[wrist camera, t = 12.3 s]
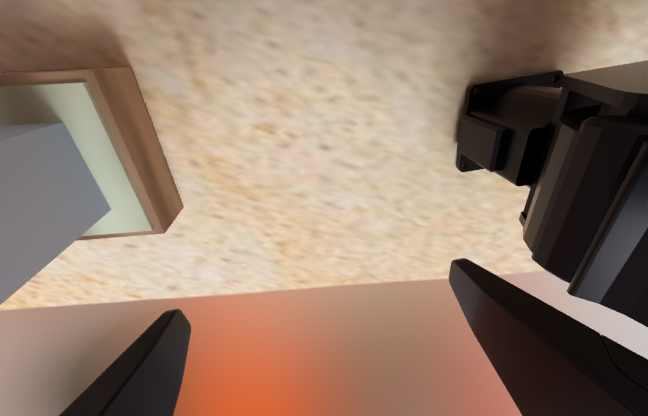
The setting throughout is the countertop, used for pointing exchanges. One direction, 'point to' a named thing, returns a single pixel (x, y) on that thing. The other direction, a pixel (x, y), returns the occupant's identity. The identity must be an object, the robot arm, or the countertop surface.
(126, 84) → the walnut base block
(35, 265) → the slate brick
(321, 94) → the countertop surface
